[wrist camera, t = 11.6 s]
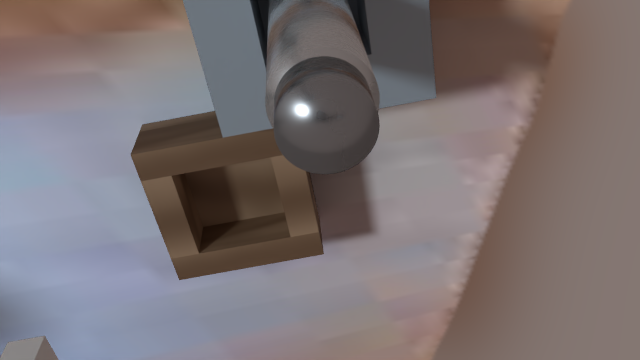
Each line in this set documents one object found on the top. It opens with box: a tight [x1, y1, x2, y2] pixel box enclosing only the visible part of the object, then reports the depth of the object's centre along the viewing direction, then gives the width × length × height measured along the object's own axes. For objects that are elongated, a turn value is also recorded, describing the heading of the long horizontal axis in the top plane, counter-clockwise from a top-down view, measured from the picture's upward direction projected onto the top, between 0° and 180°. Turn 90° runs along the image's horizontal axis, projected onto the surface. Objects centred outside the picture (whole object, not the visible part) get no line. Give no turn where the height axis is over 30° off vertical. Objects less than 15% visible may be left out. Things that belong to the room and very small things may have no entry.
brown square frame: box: [131, 111, 324, 280], centre depth 41 cm, size 10×10×4 cm
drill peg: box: [265, 0, 380, 174], centre depth 27 cm, size 4×4×18 cm
